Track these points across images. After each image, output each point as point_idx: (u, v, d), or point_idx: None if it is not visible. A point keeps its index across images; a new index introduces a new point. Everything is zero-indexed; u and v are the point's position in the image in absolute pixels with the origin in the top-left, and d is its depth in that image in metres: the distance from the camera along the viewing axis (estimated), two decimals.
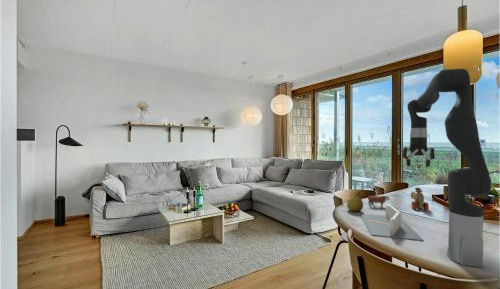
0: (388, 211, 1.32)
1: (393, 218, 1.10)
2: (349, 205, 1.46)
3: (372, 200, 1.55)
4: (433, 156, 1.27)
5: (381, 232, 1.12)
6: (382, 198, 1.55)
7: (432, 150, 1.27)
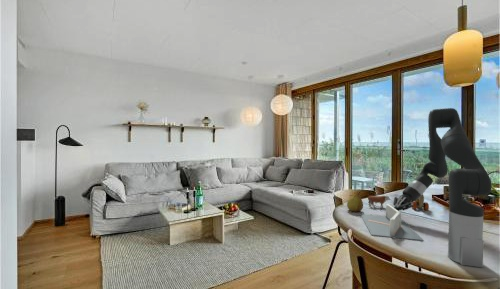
0: (388, 211, 1.32)
1: (393, 218, 1.10)
2: (349, 205, 1.46)
3: (372, 200, 1.55)
4: (401, 205, 1.28)
5: (381, 232, 1.12)
6: (382, 198, 1.55)
7: (407, 203, 1.26)
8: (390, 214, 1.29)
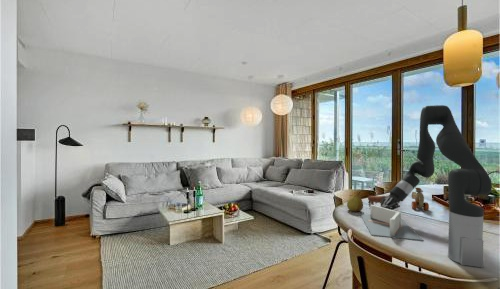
0: (375, 212, 1.30)
1: (393, 218, 1.10)
2: (349, 205, 1.46)
3: (372, 200, 1.55)
4: (388, 205, 1.28)
5: (381, 232, 1.12)
6: None
7: (394, 203, 1.25)
8: (381, 215, 1.27)
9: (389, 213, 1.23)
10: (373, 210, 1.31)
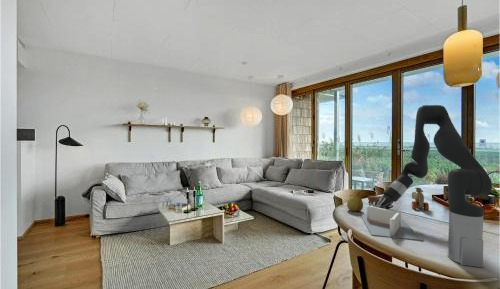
0: (372, 213, 1.28)
1: (393, 218, 1.10)
2: (349, 205, 1.46)
3: (372, 200, 1.55)
4: (382, 206, 1.28)
5: (381, 232, 1.12)
6: None
7: (387, 204, 1.25)
8: (379, 215, 1.26)
9: (388, 213, 1.23)
10: (370, 211, 1.29)
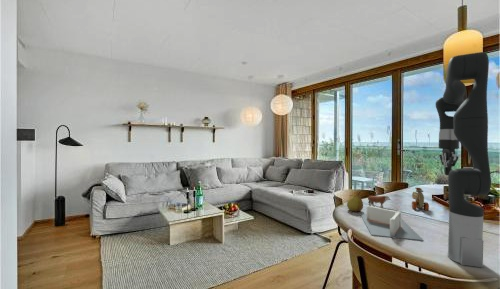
0: (372, 213, 1.28)
1: (393, 218, 1.10)
2: (349, 205, 1.46)
3: (372, 200, 1.55)
4: (448, 163, 1.13)
5: (381, 232, 1.12)
6: (382, 198, 1.55)
7: (450, 158, 1.11)
8: (379, 215, 1.26)
9: (388, 213, 1.23)
10: (370, 211, 1.29)
